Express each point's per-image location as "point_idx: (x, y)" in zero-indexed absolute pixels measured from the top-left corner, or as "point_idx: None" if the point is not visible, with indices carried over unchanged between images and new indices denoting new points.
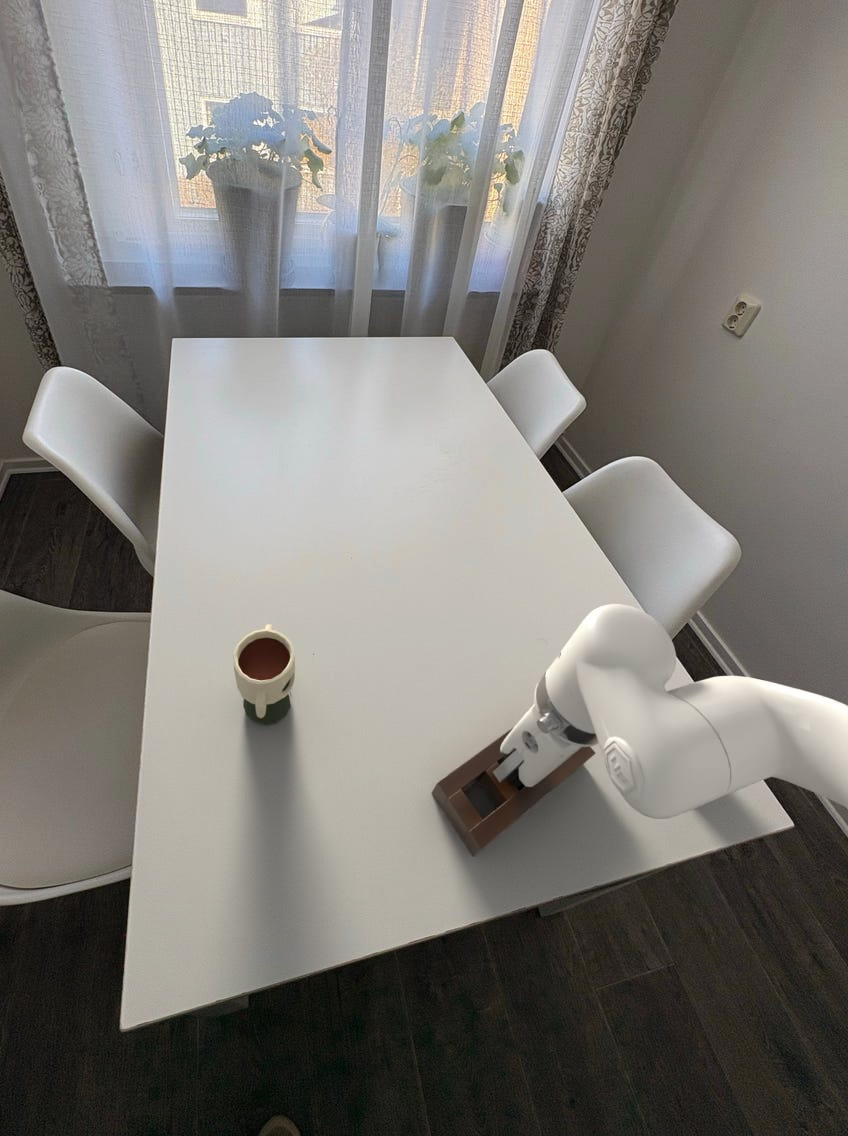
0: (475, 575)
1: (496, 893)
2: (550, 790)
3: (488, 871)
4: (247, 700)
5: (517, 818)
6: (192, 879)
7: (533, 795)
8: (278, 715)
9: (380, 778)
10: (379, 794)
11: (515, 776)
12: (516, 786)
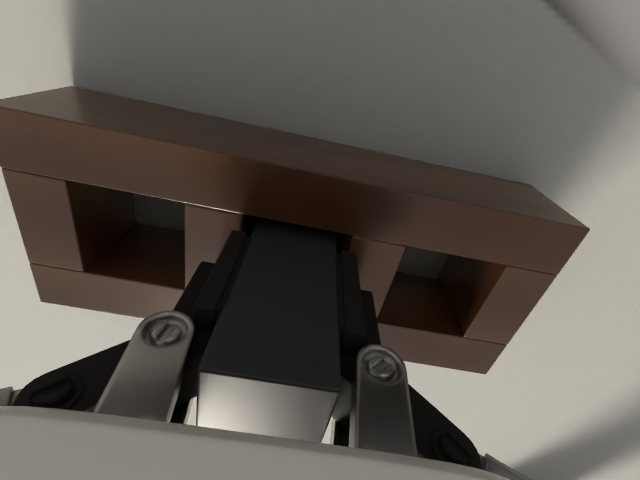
0: None
1: (583, 87)
2: (265, 163)
3: (540, 135)
4: None
5: (435, 197)
6: None
7: (328, 197)
8: None
9: (493, 376)
10: (520, 364)
11: (469, 455)
12: (355, 257)
